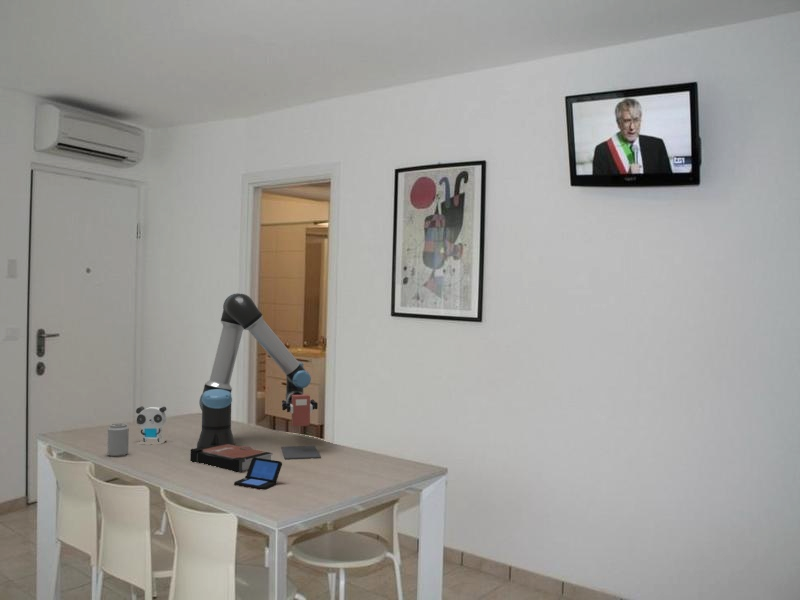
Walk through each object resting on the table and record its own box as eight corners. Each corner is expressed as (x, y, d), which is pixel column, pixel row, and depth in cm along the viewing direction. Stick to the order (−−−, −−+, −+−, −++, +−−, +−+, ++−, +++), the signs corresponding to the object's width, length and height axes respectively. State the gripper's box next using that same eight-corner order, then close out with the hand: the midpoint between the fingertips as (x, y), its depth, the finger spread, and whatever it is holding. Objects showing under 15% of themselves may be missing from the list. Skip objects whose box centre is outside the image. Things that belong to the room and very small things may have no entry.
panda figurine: (132, 445, 280) (132, 409, 280) (141, 439, 291) (142, 404, 291) (161, 445, 280) (161, 409, 280) (169, 439, 292) (170, 405, 292)
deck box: (309, 425, 273) (310, 395, 273) (292, 426, 272) (292, 396, 271) (308, 423, 277) (308, 394, 277) (291, 424, 276) (291, 394, 275)
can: (128, 452, 268) (129, 421, 268) (127, 456, 261) (128, 425, 260) (108, 453, 265) (108, 422, 265) (106, 457, 258) (107, 426, 258)
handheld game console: (232, 485, 224) (232, 463, 224) (252, 478, 234) (252, 456, 234) (263, 491, 219) (264, 468, 219) (282, 483, 229) (283, 461, 229)
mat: (320, 458, 264) (321, 456, 264) (284, 459, 261) (284, 457, 261) (315, 446, 283) (315, 445, 283) (281, 448, 280) (281, 446, 280)
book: (273, 464, 255) (273, 451, 255) (238, 474, 240) (239, 460, 240) (225, 454, 269) (226, 441, 269) (190, 462, 255) (190, 449, 255)
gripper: (319, 408, 294) (326, 418, 272) (273, 410, 289) (276, 420, 267) (319, 391, 294) (326, 399, 272) (273, 392, 289) (276, 401, 267)
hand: (301, 409), depth 270 cm, fingers closed on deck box, 7 cm apart
